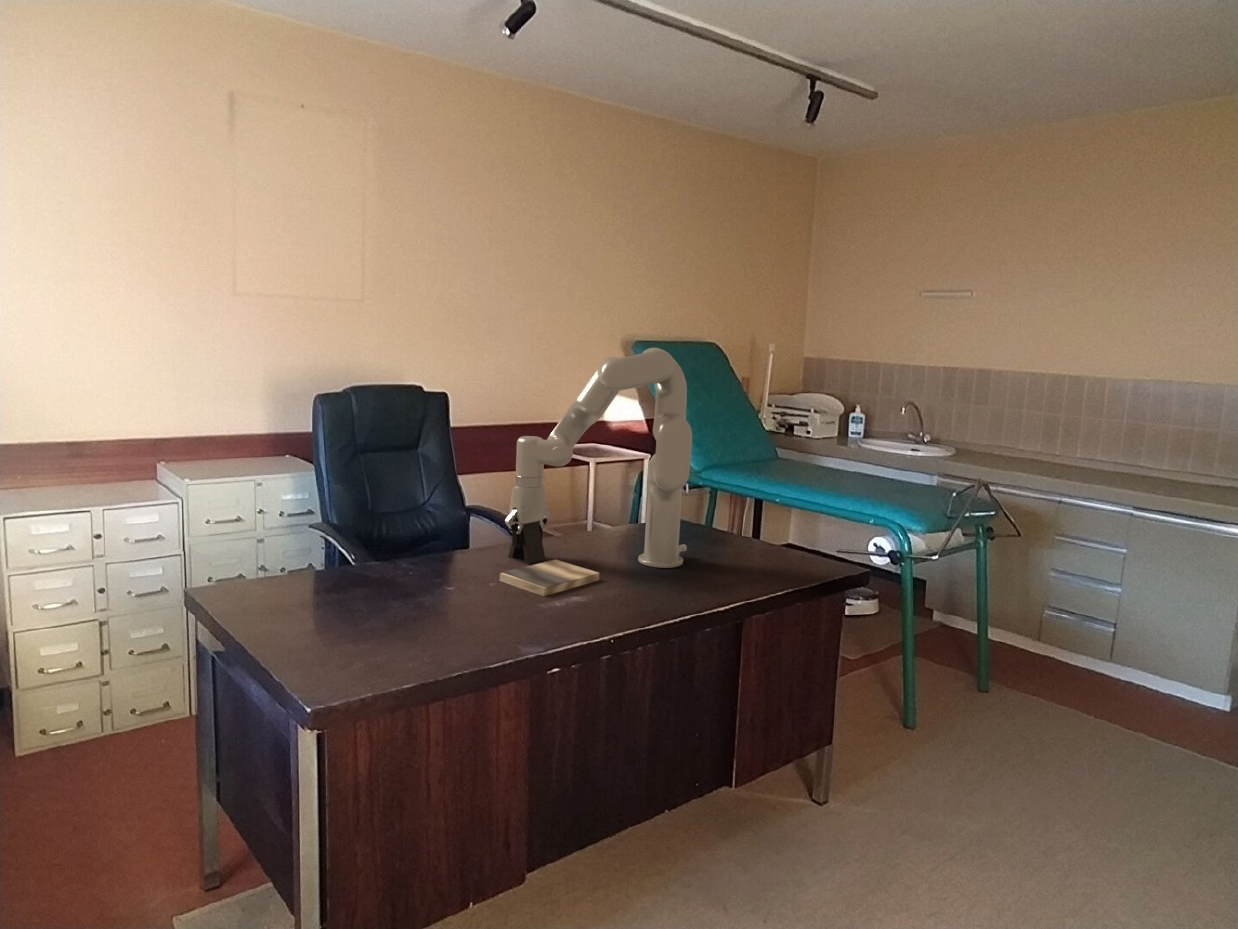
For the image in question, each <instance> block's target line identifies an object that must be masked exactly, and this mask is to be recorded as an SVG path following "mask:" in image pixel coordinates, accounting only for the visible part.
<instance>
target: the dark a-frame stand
mask: <svg viewBox="0 0 1238 929" xmlns="http://www.w3.org/2000/svg"><path fill="white" fill-rule="evenodd" d="M518 522H519V521H518ZM539 524H540V521H537V522H533V523H528V524H524V525H523V527H522V530H521V532H520V533H521V534H522V547H521V548H517V547H514V546H512V543H511V545H510V548H509V552H508V555H507V557H508V558H509V559H510V560H515V561H517V562H520V563H523V564H526V565H528V566H530V565H535V564H539V563H543V562H547V561H546V555H545V550H544V544H543V538H542V539H541V533H540V528H539ZM518 526H519V525H517V528H518Z"/></svg>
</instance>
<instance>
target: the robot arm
mask: <svg viewBox="0 0 1238 929" xmlns="http://www.w3.org/2000/svg"><path fill="white" fill-rule="evenodd" d="M649 385H650V386H651V385H654V388H655V389H654V390H655V406H654V419H653V426H652V435H653V437H654V439H655V441H656V444H655V453H654V454H653V455H652V457H651V458H650V460H649V461H648V465H647V497H646V498H647V499H646V500H647V501H646V513H645V514H646V516H645V532H644V534H645V535H644V550H643V553H641V554H639V555H638V559H637V560H638V562H639V563H640V564H642V565H645V566H648V567H652V568H659V569H660V568H661V569H664V568H665V569H669V568H671V569H672V568H677V567H679V566H682V565H683V563H684V558H683V557H682V556H680V554H681V553H682V552H685V551H687V550H688V547H687V545H686V544H684V543H683V544H680V543H679V541H680V531H681V530H680V529H681V528H680V527H681V516H682V514H681V513H682V498H683V496H682V492H683V491H682V490H683V487H685V485H686V484H687V482H688V480H689V477H690V470H691V469H690V468H691V459H692V449H693V448H692V447H693V432H692V427H691V425H690V424H689V422H688V420H687V403H688V402H687V399H688V395H687V394H688V388H687V380H686V377H685V373H684V372H683V370H682V367H681V366H680V365H679V363H678V362H677V361H676V360H675V359H674V357H673V356H672V355H671V354H670V353H669V352H668V351H666V350H664V349H662V348H660V347H649V348H647V349H645V350H644V351H643V352H642V353H638V354H633V355H629V356H623V357H617V356H610V357H607V358H604V359H603V361H602V362H600V364H599V365H598V367H597V368H596V369H595V371H594V373H593V374H592V375H591V376H590V378H589V379H588V381H587V382H586V383H585V385H584V386H583V388H582V390H581V391H580V392H579V393H578V395H577V396H576V397H575V399H574V401H572V403H571V405H570V406H569V407H568V409H567V411H566V412H565V413H564V415H563V416H562V417H561V419H560V420H559V421H558V422H557V425H556V426H555V427H554V428H553V430H552V432H551V433H550V434H549V435H548V437H547V439H543V437H540V436H533V435H531V436H530V435H523V436H520V437H519V438H518V439H517V440H516V456H515V457H516V458H515V486H513V488H512V491H511V495H510V502H509V511H508V516H507V517H506V518H505V520H504V523H505V524H506V526H507V527H508V530H510V532H511V533H512V537H511V544H512V546H514V547H517V548H521V547H522V534H521V533H520V532H521V530H522V527H523V525H524V524H528V523H533V522H537V521H540V524H539V528H540V533H541V539H542V540H543V530H544V529H545V527H546V523H547V522H548V519H549V518H550V516H551V512H550V511H549V510H548V509H547V505H546V504H547V503H546V491H545V486H544V480H545V479H546V478H545V476H544V472H545V471H544V469H545V467H544V466H545V465H548V466H553V467H564V466H566V465H567V464H568V463H570V462H571V460H572V458H573V455H574V452H573V449H574V447H575V446H576V445H577V443H578V441H579V440H580V439H581V437H582V436H583V435H584V433H585V432H586V431H587V430H588V429H589V428H590V427H591V426H592V425H594V424H595V423H597V422H598V421H599V420H600V419H601V418H602V417H603V415H604V414H605V413H606V411H607V410H608V408H609V406H611V404H612V402H614V400H615V398H616V397H617V396H618V394H619V392H621V391H625V390H631V389H636V388H640V387H645V386H649ZM518 521H519V522H518ZM517 525H519V526H518V528H517Z"/></svg>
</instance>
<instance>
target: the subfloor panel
mask: <svg viewBox="0 0 1238 929" xmlns="http://www.w3.org/2000/svg"><path fill="white" fill-rule="evenodd" d="M499 581H500V582H502V583H505V584H508V585H510V586H513V587H515V588H519V589H522V590H524V591H528V592H531V593H533V594H537V595H539V596H542V597H546V596H549V595H553V594H556V593H560V592H563V591H568V590H570V589H574V588H576V587H580V586H583V585H587V584H591V583H594V582H598V581H600V572H597V571H594V570H591V569H588V568H585V567H581V566H578V565H575V564H572V563H568V562H565V561H562V560H559V559H552V560H548V561H543V562H538V563H534V564H530V565H528V566H527V565H525V566H521V567H517V568H513V569H509V570H505V571H502V572H501V573H499Z"/></svg>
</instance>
